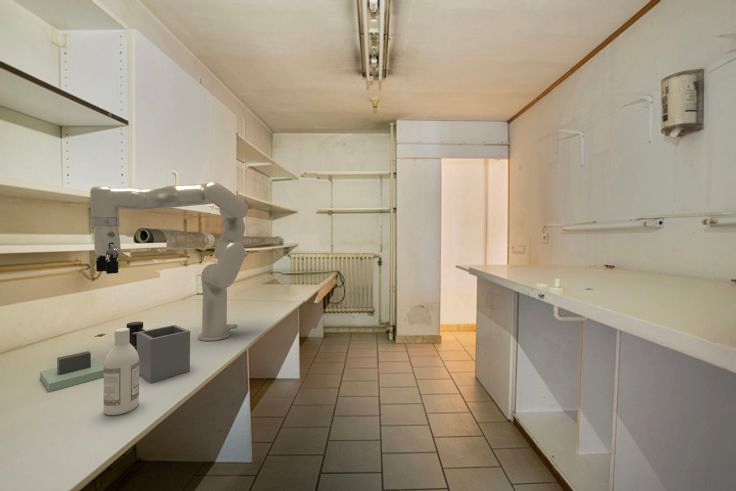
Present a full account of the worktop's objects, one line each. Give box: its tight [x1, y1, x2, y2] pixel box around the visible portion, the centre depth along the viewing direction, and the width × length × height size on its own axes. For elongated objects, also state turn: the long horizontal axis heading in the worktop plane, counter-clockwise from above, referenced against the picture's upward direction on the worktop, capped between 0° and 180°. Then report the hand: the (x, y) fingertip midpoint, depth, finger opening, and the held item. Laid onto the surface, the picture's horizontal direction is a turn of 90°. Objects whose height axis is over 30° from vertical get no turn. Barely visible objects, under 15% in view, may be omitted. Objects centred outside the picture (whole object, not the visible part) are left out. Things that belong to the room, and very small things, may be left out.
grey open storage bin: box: [137, 324, 191, 384], centre depth 99 cm, size 11×11×13 cm
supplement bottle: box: [125, 321, 146, 351], centre depth 111 cm, size 7×7×12 cm
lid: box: [39, 350, 104, 393], centre depth 94 cm, size 13×13×7 cm
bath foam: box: [103, 327, 140, 416], centre depth 78 cm, size 7×7×20 cm
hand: (107, 272), depth 108 cm, fingers open, 9 cm apart
